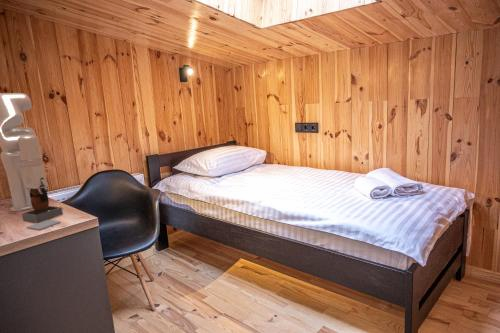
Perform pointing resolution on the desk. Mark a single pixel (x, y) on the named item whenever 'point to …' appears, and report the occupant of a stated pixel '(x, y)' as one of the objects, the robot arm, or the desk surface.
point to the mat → (43, 225)
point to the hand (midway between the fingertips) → (39, 200)
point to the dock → (42, 214)
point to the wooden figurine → (38, 201)
